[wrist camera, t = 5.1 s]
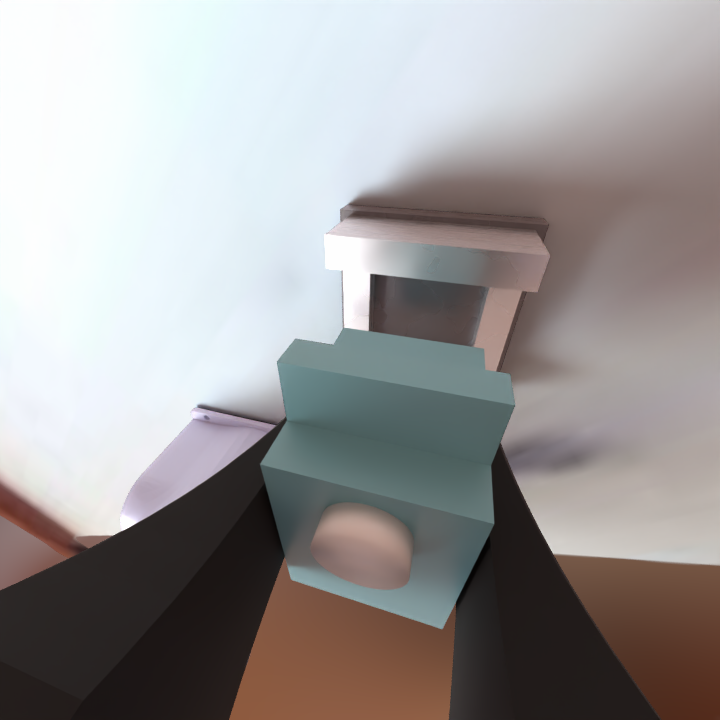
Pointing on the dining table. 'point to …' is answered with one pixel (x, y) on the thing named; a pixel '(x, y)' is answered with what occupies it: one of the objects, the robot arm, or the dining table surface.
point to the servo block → (386, 468)
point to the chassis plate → (437, 273)
